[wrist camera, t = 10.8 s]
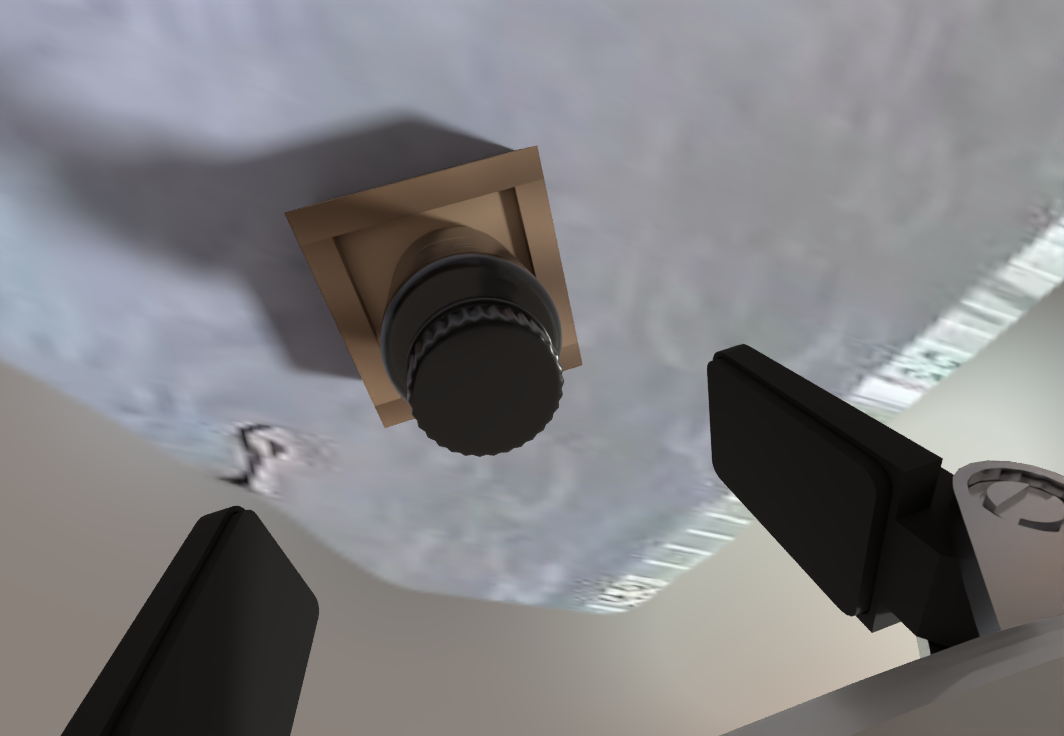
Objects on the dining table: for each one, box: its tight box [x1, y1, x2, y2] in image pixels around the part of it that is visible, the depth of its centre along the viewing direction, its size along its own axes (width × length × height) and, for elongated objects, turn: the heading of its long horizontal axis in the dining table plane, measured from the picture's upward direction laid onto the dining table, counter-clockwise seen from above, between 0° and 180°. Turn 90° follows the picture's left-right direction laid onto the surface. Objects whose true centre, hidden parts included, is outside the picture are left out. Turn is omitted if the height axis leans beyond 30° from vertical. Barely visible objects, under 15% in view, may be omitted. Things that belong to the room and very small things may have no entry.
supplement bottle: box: [380, 226, 564, 457], centre depth 19 cm, size 7×7×12 cm
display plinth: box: [285, 146, 582, 428], centre depth 26 cm, size 12×12×6 cm
